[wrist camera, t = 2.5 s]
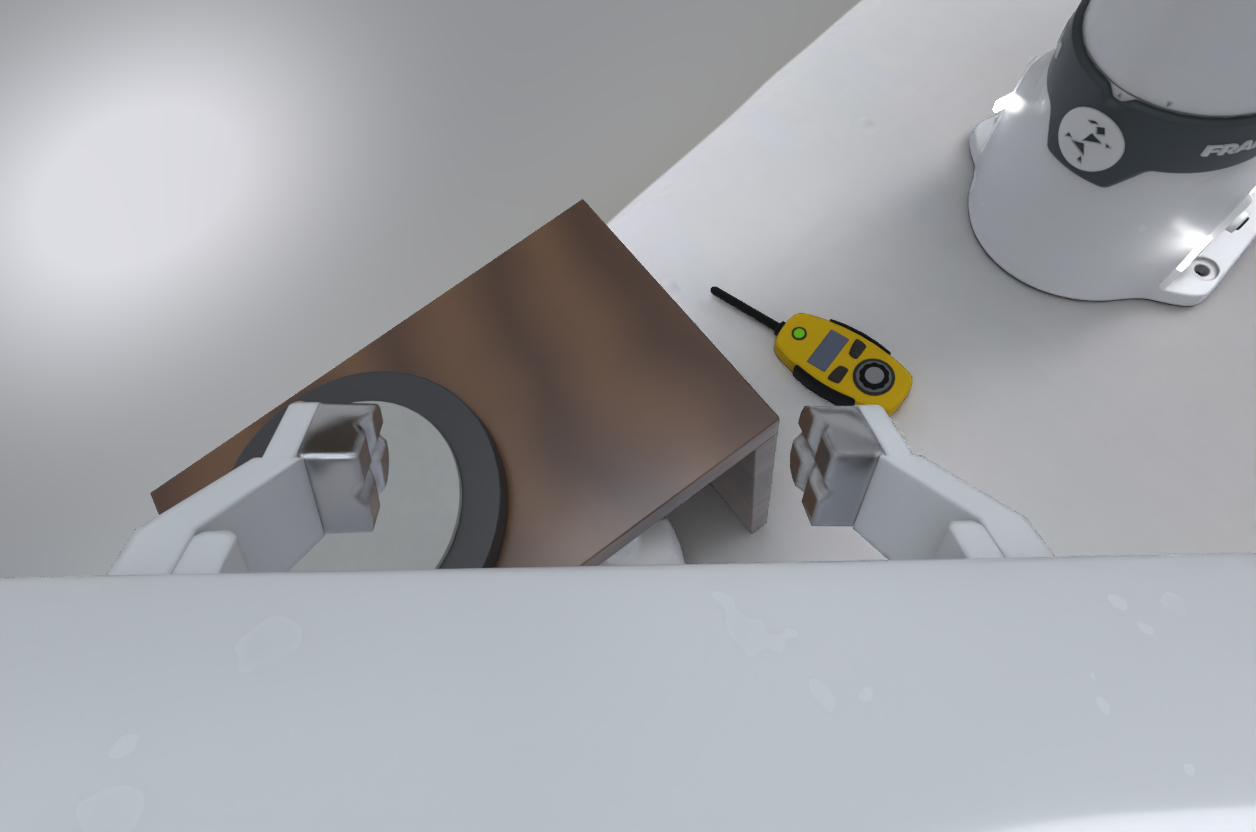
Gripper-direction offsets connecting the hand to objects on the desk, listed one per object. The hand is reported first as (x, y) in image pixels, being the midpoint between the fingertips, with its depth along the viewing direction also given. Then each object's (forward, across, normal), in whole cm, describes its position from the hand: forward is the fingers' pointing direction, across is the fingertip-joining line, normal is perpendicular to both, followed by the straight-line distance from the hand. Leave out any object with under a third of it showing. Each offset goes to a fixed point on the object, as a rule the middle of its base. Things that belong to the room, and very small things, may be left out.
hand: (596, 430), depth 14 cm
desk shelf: (+20, +1, +26) cm, 33 cm away
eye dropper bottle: (+18, -5, +26) cm, 32 cm away
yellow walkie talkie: (+29, -16, +16) cm, 37 cm away
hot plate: (+10, +8, +12) cm, 18 cm away
